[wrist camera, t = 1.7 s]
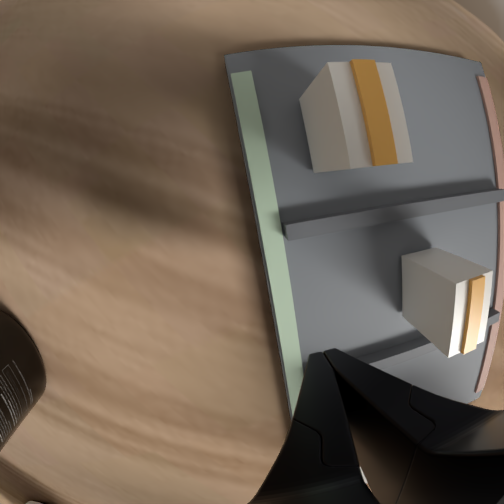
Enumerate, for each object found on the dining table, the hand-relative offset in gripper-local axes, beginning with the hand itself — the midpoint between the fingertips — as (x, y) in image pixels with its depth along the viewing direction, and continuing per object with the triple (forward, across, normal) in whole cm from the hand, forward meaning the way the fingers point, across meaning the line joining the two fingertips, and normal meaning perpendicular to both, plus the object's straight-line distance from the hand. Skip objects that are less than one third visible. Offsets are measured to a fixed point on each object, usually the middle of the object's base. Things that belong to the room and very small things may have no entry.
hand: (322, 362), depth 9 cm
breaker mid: (+4, -6, 0) cm, 7 cm away
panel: (+5, -6, 0) cm, 8 cm away
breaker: (+4, -2, -7) cm, 8 cm away
